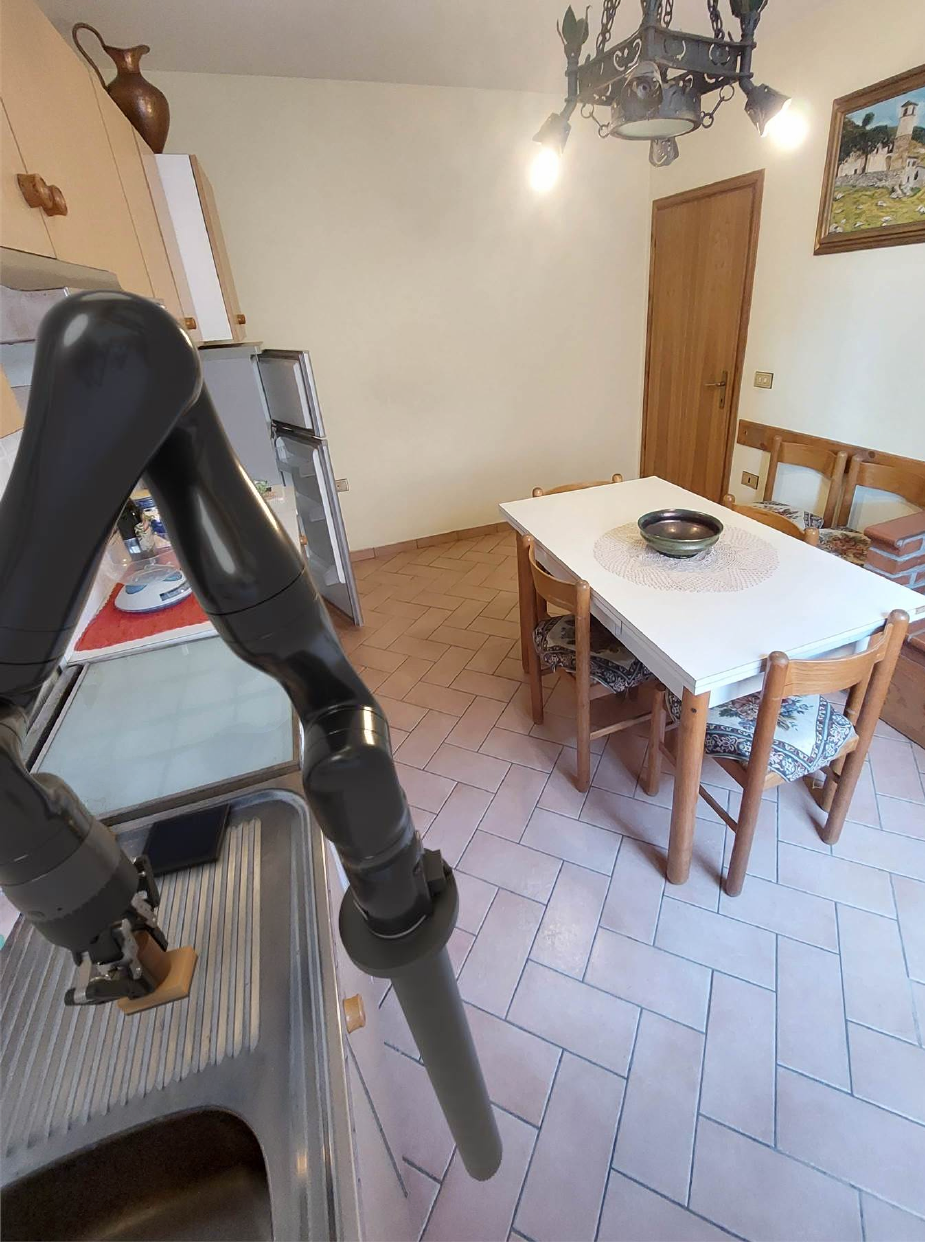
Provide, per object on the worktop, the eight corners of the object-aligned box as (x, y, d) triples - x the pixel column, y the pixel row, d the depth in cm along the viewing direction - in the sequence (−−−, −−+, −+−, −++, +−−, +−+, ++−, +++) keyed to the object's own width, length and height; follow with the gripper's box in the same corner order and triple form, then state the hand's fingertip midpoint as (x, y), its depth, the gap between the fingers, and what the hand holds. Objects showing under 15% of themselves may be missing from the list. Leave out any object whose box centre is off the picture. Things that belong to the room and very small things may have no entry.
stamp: (198, 956, 61) (169, 917, 57) (189, 997, 58) (157, 959, 54) (138, 974, 60) (104, 936, 56) (124, 1017, 57) (87, 980, 53)
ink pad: (231, 807, 86) (229, 803, 85) (218, 861, 78) (215, 857, 77) (156, 826, 84) (153, 822, 83) (134, 883, 76) (131, 879, 76)
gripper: (82, 945, 44) (170, 1040, 52) (143, 797, 56) (206, 893, 64) (-24, 976, 42) (84, 1068, 51) (62, 818, 54) (137, 913, 63)
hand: (152, 970), depth 57 cm, fingers closed on stamp, 3 cm apart
